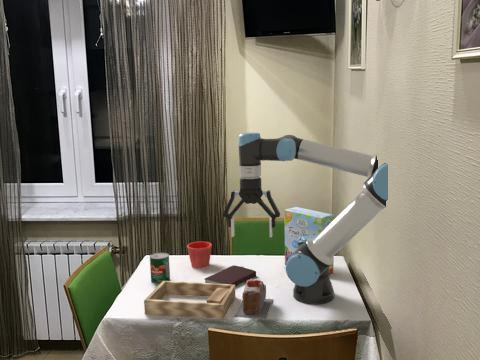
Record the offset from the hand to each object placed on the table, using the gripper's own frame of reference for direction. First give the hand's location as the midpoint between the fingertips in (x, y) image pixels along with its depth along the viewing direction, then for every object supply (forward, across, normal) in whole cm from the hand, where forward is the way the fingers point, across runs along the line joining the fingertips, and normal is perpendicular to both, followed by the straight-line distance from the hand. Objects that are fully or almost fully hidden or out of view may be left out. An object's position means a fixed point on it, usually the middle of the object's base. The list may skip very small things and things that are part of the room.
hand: (251, 236), depth 183 cm
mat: (+25, +1, -4) cm, 26 cm away
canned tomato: (+25, -41, +20) cm, 52 cm away
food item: (+25, +1, -4) cm, 25 cm away
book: (+26, -12, +23) cm, 37 cm away
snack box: (+26, +19, +39) cm, 51 cm away
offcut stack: (+25, -12, -4) cm, 28 cm away
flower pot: (+25, -29, +40) cm, 55 cm away
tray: (+25, -22, -3) cm, 34 cm away
